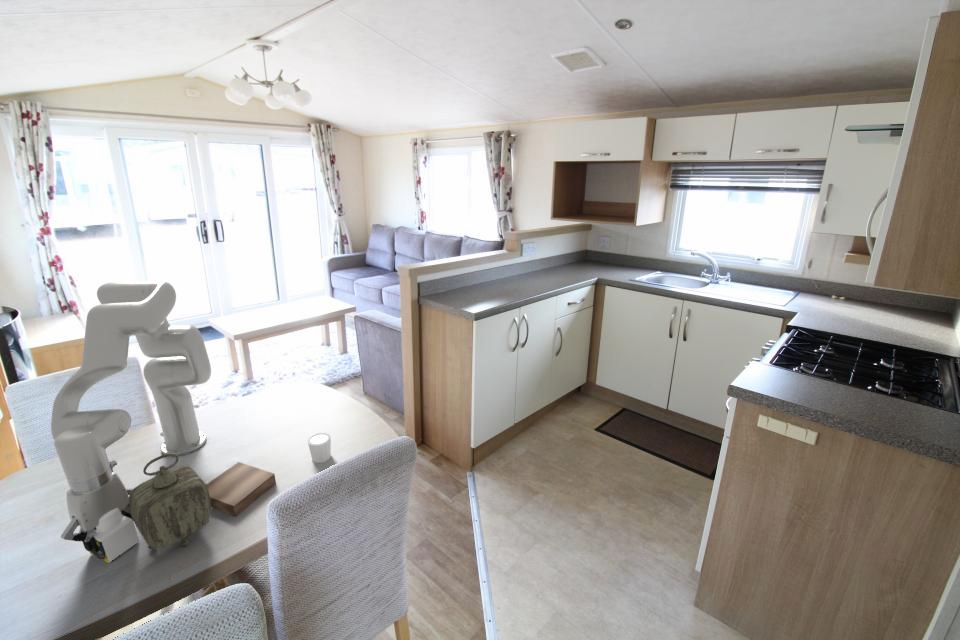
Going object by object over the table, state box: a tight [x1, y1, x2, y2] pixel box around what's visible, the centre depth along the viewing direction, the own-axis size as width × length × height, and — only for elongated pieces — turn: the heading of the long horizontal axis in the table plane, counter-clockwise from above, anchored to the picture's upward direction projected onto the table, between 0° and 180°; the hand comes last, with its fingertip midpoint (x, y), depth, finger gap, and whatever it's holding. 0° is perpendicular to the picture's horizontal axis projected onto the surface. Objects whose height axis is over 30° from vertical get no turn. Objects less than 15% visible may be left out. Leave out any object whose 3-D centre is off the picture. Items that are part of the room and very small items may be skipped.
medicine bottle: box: [88, 508, 140, 564], centre depth 106 cm, size 7×7×12 cm
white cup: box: [307, 432, 332, 464], centre depth 142 cm, size 7×7×7 cm
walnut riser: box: [205, 461, 277, 517], centre depth 127 cm, size 14×14×4 cm
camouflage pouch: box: [128, 454, 212, 550], centre depth 107 cm, size 14×9×25 cm, turn 140°
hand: (111, 537), depth 107 cm, fingers closed on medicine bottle, 7 cm apart
